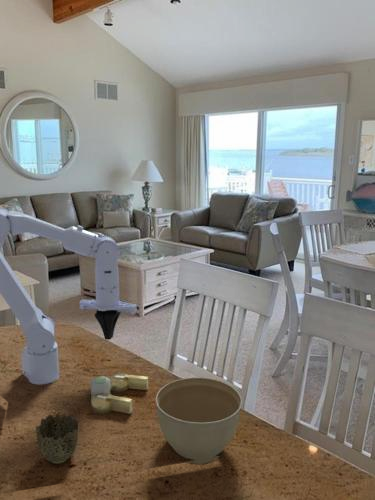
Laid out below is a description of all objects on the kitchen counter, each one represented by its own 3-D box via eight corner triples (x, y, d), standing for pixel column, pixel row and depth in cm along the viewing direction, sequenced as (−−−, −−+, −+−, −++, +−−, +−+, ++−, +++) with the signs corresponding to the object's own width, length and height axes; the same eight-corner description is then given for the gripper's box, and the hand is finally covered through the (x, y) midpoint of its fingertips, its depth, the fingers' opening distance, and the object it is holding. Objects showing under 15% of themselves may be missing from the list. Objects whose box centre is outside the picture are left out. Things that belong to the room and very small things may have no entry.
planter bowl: (162, 484, 79) (162, 427, 77) (151, 429, 95) (150, 381, 92) (252, 471, 82) (254, 416, 80) (227, 421, 98) (228, 374, 95)
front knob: (87, 411, 99) (86, 398, 98) (98, 400, 103) (98, 388, 103) (126, 419, 96) (125, 406, 95) (135, 407, 100) (135, 394, 100)
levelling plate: (48, 400, 106) (47, 376, 104) (109, 375, 117) (108, 354, 116) (90, 431, 94) (89, 405, 93) (153, 400, 106) (153, 377, 105)
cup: (69, 480, 80) (67, 439, 78) (30, 474, 81) (27, 433, 80) (87, 453, 87) (85, 415, 85) (51, 448, 89) (48, 410, 87)
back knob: (106, 390, 107) (106, 378, 107) (114, 380, 112) (113, 369, 111) (144, 394, 106) (144, 382, 105) (150, 384, 110) (150, 373, 110)
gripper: (72, 288, 111) (75, 341, 114) (128, 293, 108) (129, 347, 111) (86, 280, 118) (88, 330, 121) (139, 284, 114) (140, 336, 117)
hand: (108, 337), depth 116 cm, fingers closed
